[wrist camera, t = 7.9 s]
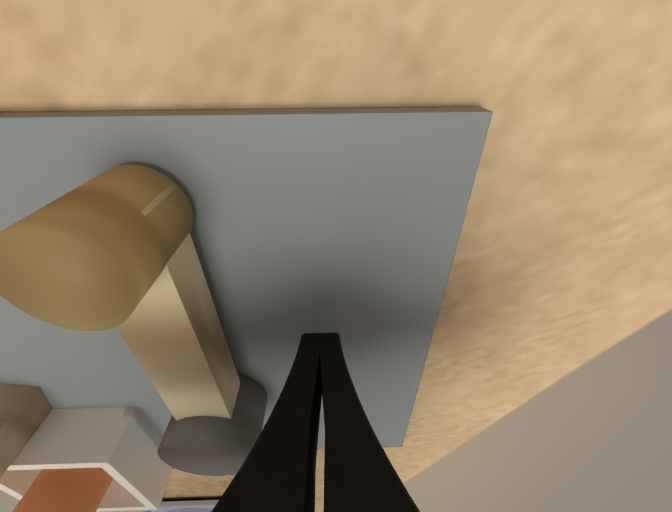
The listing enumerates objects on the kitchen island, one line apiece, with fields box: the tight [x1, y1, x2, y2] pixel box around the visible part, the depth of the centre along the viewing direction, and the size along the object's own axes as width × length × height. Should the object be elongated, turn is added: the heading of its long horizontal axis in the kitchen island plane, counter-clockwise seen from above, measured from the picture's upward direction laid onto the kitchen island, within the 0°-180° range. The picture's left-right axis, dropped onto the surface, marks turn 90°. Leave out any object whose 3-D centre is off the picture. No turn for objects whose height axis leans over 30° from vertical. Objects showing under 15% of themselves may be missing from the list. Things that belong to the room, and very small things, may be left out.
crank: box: [0, 164, 267, 476], centre depth 10 cm, size 14×4×4 cm, turn 0°
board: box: [0, 106, 493, 449], centre depth 13 cm, size 19×22×1 cm
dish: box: [0, 407, 173, 511], centre depth 16 cm, size 6×6×2 cm
